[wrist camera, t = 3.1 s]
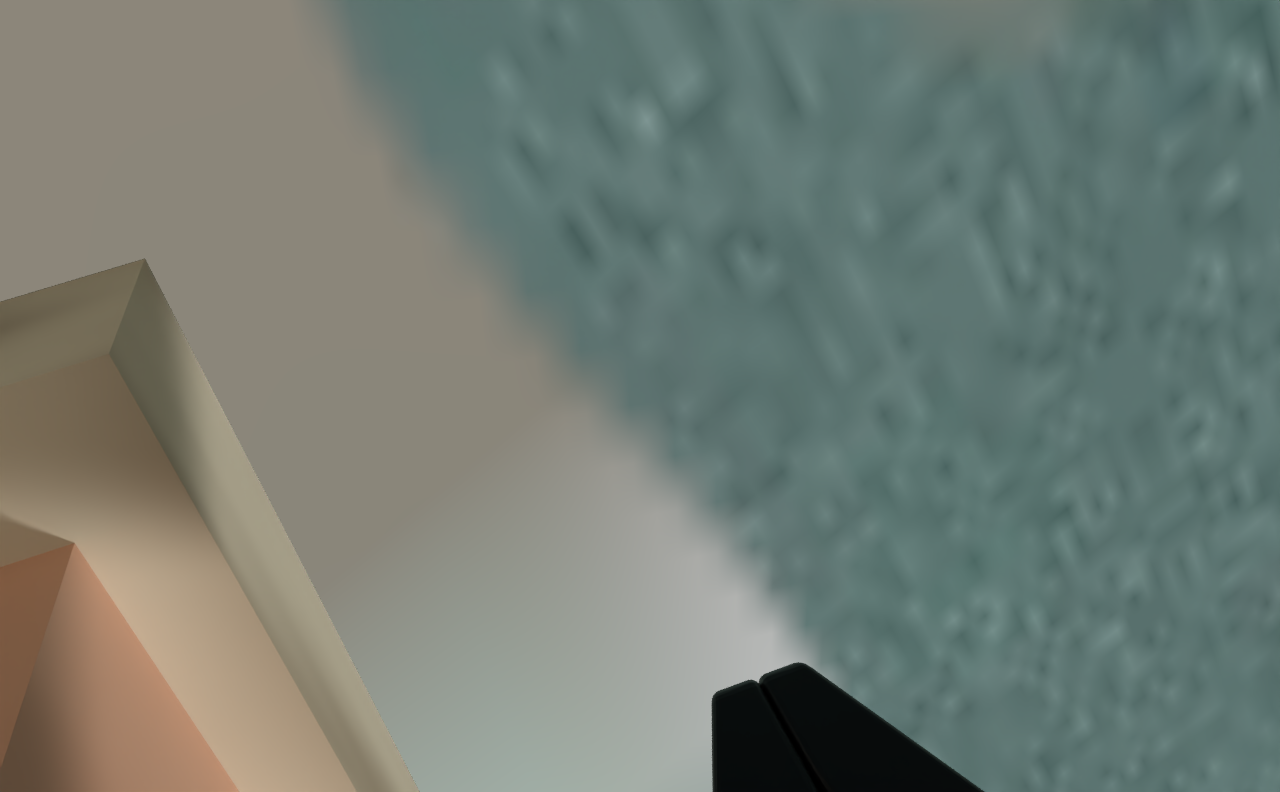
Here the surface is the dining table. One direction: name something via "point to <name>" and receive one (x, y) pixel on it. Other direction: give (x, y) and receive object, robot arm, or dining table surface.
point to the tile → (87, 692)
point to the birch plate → (178, 533)
